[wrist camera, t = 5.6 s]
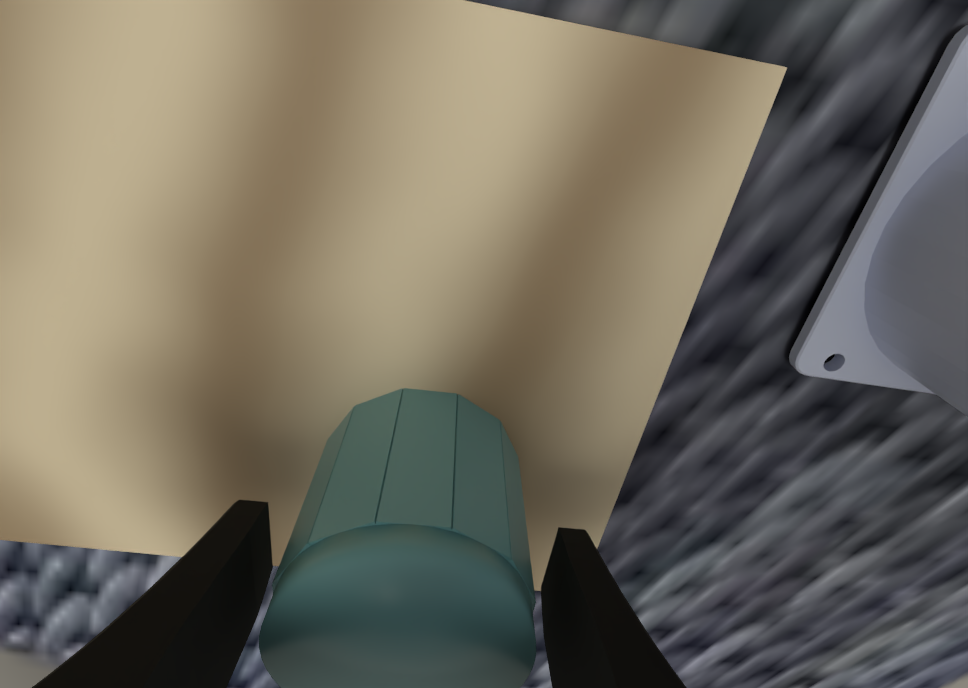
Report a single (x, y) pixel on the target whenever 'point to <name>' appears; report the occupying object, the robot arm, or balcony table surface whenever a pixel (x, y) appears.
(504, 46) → the birch board
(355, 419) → the teal cap
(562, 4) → the balcony table surface
